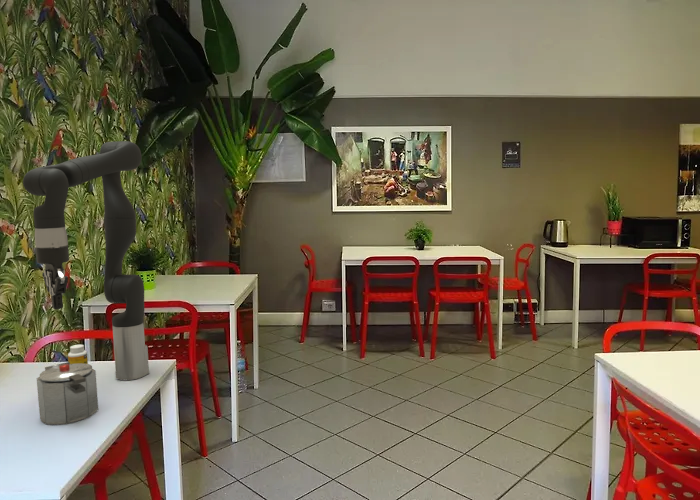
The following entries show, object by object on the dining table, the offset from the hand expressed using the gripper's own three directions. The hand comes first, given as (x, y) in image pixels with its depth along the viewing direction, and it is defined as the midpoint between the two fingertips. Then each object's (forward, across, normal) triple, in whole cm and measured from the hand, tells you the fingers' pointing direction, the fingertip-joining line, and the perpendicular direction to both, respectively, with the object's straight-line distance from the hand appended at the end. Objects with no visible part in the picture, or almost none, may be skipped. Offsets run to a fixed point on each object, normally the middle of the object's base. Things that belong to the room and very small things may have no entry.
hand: (57, 308), depth 141 cm
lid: (+17, +5, -1) cm, 18 cm away
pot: (+28, +4, -1) cm, 29 cm away
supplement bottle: (+29, -25, +12) cm, 40 cm away
